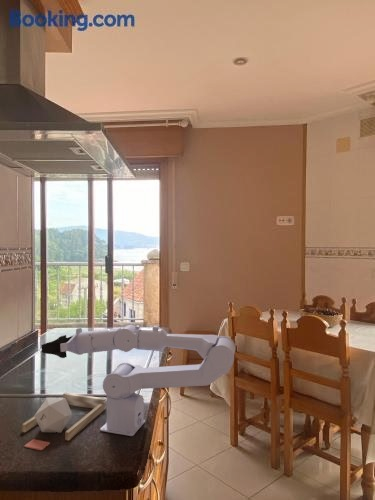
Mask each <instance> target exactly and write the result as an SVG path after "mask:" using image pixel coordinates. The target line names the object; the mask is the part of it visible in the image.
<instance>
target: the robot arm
mask: <svg viewBox="0 0 375 500" xmlns="http://www.w3.org/2000/svg"><path fill="white" fill-rule="evenodd" d="M165 348H173V349H174V348H175V349H181V350H190V351H196V352H197V353H198V354H199V356H200V357H201V358H202V359H203V360H202V362H201V363H199V364H184V365H183V364H182V365H167V366H153V367H143V366H141V365H134V364H131V363H130V362H129V363H128V362H121V363H120V364H118V365H117V366H116V367H115V369H114V370H113V371H111V372H110V373H108V374H107V375H105V378H104V379H103V381H102V390H103V392H104V393H105V395H106V422H105V424H103V426H101V427H100V428H99V431H101V432H105V433H111V434H116V435H117V434H118V435H124V436H127V437H128V436H129V437H134V436H135V434H136V433H137V432H138V430H140V428H141V427H142V426H143V425H144V424H145V423H146V420H145V402H144V401H145V400H144V396H143V395H141V394H139V393H136V392H138V391H140V390H142V389H145V390H147V389H161V388H163V389H164V388H181V387H182V388H184V387H185V388H186V387H200V386H203V387H204V386H209V385H212V384H213V383H214V382H216V381H217V380H218V379H220V378H221V377H223V376H224V375H228V373H229V372H230V370H231V368H232V367H233V364H234V362H235V354H236V349H237V348H236V344H235V341H234V340H233V339H231V338H230V337H229V336H225V335H224V336H223V335H221V336H219V335H218V334H195V333H193V334H191V333H189V334H188V333H185V334H184V333H168V332H167V331H166V330H165V329H164V328H160V327H159V325H153V326H152V327H142V326H141V325H138V324H137V325H133V324H131V323H129V324H126V325H124V326H123V327H118V328H117V327H115V328H104V329H103V328H102V329H97V330H96V329H95V330H88V331H83V328H82V327H78V328H76V329H75V334H73V335H70V336H69V337H67V334H65V335H61V336H59V337H57V338H56V339H54V340H52V341H48V342H46V343H43V344H41V354H47V355H54V356H57V357H58V358H61V359H65V358H67V352H69V353H72V354H74V355H75V354H76V355H78V356H81V355H83V354H92V353H100V352H108V351H109V352H110V351H115V350H118V351H121V352H125V353H128V352H131V351H132V350H133V349H136V350H138V351H139V350H142V351H153V352H155V351H156V352H163V350H164V349H165Z"/></svg>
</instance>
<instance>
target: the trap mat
mask: <svg viewBox="0 0 375 500" xmlns="http://www.w3.org/2000/svg"><path fill="white" fill-rule="evenodd" d="M49 445H51V441H50V442H49V441H45V440H44V441H43V440H41V439H35V438H33V439H31V440H30V441H29V442H27V443H26V444H25V445H23V447H24V448H28V449H33V450H38V451H43V450H44V449H45V448H47V447H48V446H49ZM46 446H47V447H46Z"/></svg>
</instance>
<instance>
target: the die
mask: <svg viewBox="0 0 375 500" xmlns="http://www.w3.org/2000/svg"><path fill="white" fill-rule="evenodd" d="M34 416H35V418H36V420H37V422H38V424H37V426H39V429H40V431H41V433H56V432H57V433H59V434H61V433H62V432H63V430H64V429H65V427H66V426H67V425H68V423H69V422H70V419H71V417H73V412H72V410H71V408H70V405H68V403H67V401H66V398H63V397H46V398H45V400H44V402H43V403H42V404H41V405H40V406H39V408H38V410H37V411H36V413H34ZM34 416H33V417H34Z"/></svg>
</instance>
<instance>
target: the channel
mask: <svg viewBox="0 0 375 500" xmlns="http://www.w3.org/2000/svg"><path fill="white" fill-rule="evenodd" d="M62 394H63V395H62V398H66V401H67V403H68V405H69V406H75V407H82V408H87V409H88V408H89V409H92V410H90V411H89V412H88V413H87V414H85V415H84V416H83V417H82V418H81V419H80V420H78V421H77V422H75V423H74V424H73V425H72V426H71V427H70V428H68V429H67V430H66V431H65V432H64V439H65V441H70V440H71V439H72V438H74V437H75V436H76V435H77V434H78V433H80V432H81V431H82V429H84V428H85V427H86V426H87V425H88V424H89V423H91V422H93V420H95V419H96V418H97V417H98V416H99V415H100V414H102V412H104V411H105V410H107V397H106V398H104V397H99V396H98V397H96V396H92V395H91V396H90V395H83V394H78V393H70V392H69V393H68V392H64V393H62ZM35 426H38V422H37V420H36V418H35V416H32V417H31V418H29V419H28V420H26V421H25V422H23V423H22V425H21V428H22V429H21V430H22V433H27V432H28V431H30V430H31V429H33V428H34V427H35Z"/></svg>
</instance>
